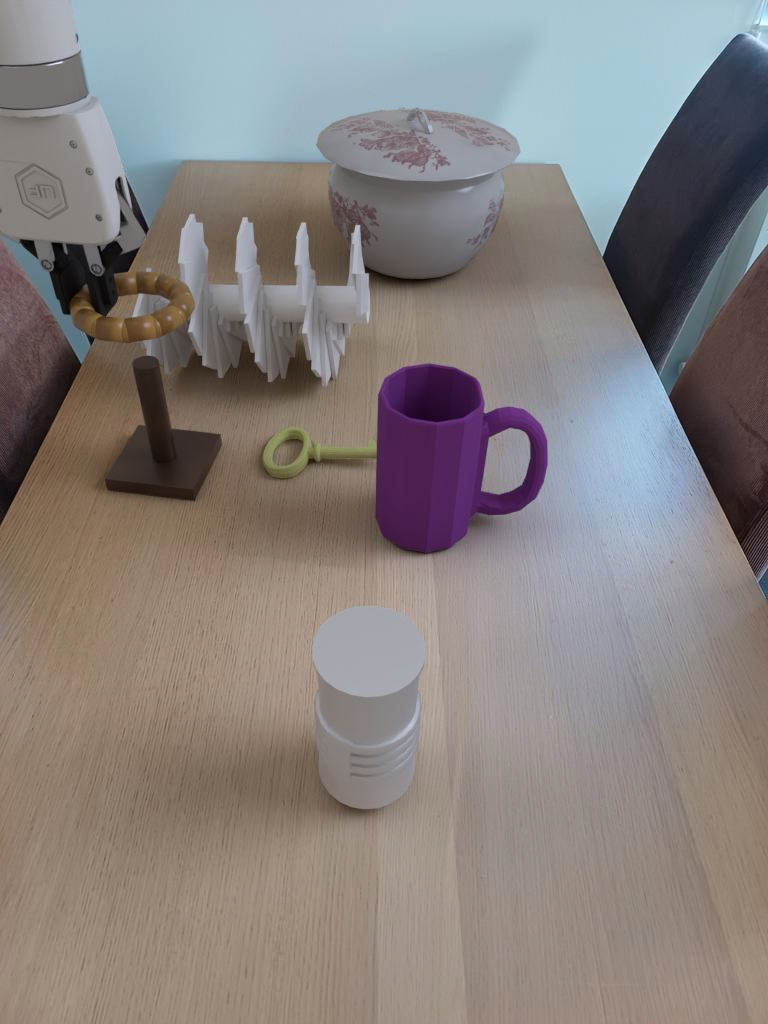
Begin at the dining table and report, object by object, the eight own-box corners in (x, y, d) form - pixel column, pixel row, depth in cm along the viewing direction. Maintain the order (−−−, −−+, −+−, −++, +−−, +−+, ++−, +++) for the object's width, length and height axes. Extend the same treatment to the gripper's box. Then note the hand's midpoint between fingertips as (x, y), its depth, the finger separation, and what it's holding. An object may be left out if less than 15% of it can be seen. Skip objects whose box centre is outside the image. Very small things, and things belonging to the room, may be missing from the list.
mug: (373, 490, 81) (376, 362, 70) (526, 489, 81) (551, 361, 71) (376, 556, 74) (380, 424, 64) (543, 554, 75) (573, 423, 64)
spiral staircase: (181, 370, 103) (375, 374, 101) (128, 390, 86) (360, 395, 84) (171, 218, 98) (376, 219, 96) (113, 209, 81) (360, 210, 79)
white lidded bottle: (298, 793, 57) (286, 664, 46) (352, 721, 61) (352, 588, 51) (381, 844, 54) (387, 719, 44) (431, 765, 58) (447, 634, 48)
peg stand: (107, 490, 80) (77, 383, 71) (141, 435, 86) (117, 332, 78) (195, 500, 79) (175, 394, 70) (222, 445, 85) (207, 341, 77)
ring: (52, 339, 68) (46, 318, 66) (102, 283, 75) (98, 262, 74) (171, 352, 67) (167, 331, 65) (210, 293, 74) (207, 273, 73)
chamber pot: (450, 323, 105) (464, 160, 91) (282, 269, 116) (271, 115, 102) (536, 246, 123) (559, 100, 109) (384, 206, 133) (387, 67, 119)
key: (385, 467, 83) (385, 451, 82) (265, 482, 81) (264, 465, 80) (371, 427, 88) (371, 411, 87) (259, 439, 86) (257, 423, 85)
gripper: (-99, 88, 57) (-17, 321, 69) (118, 103, 55) (162, 339, 68) (-42, 60, 62) (25, 281, 75) (157, 74, 61) (191, 297, 73)
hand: (90, 307), depth 71 cm, fingers closed on ring, 2 cm apart
